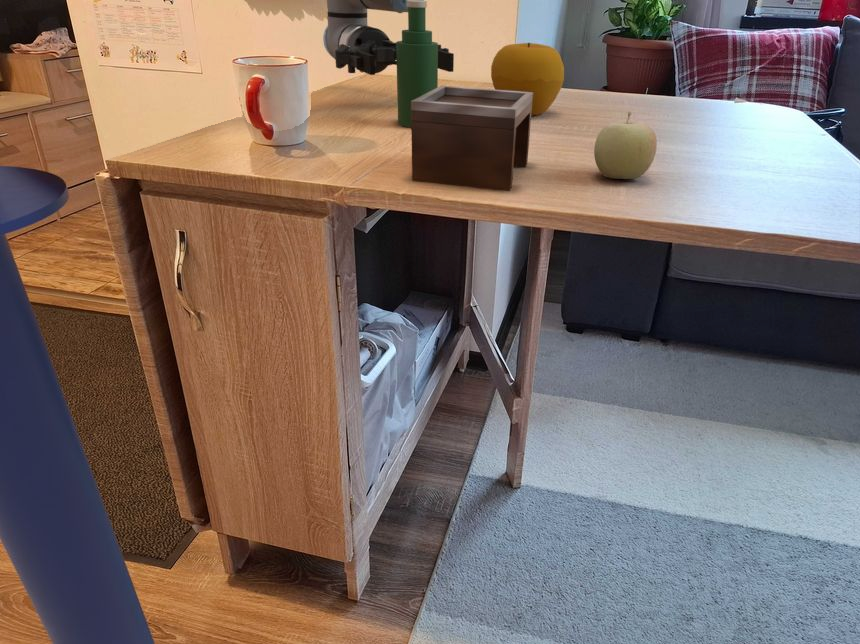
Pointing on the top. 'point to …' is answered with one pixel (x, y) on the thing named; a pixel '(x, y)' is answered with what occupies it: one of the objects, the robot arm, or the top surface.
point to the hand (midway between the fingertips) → (413, 64)
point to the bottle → (415, 61)
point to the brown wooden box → (470, 136)
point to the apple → (529, 72)
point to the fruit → (625, 149)
